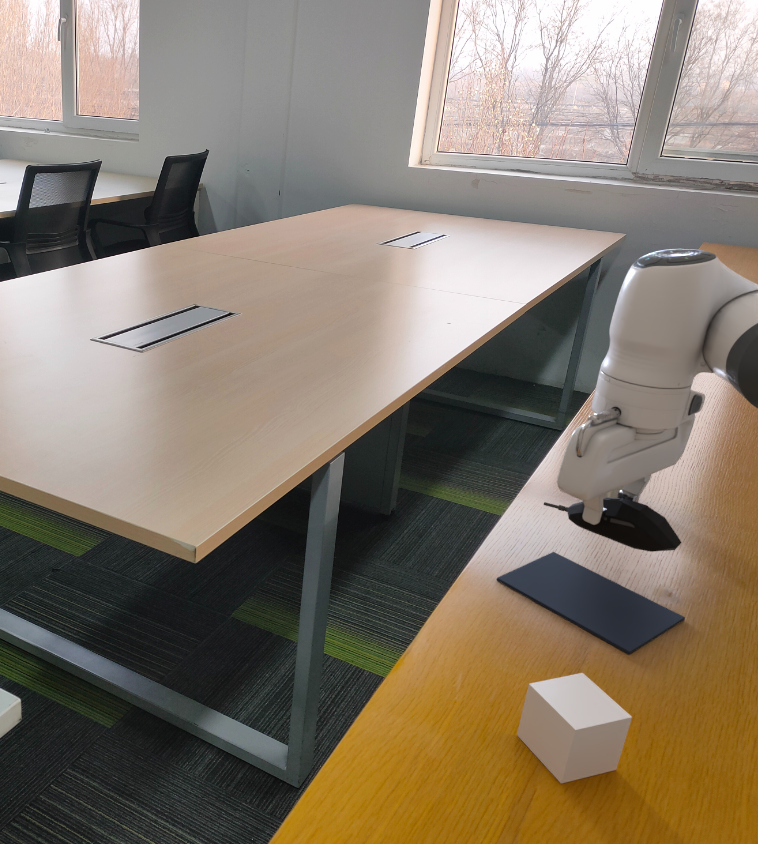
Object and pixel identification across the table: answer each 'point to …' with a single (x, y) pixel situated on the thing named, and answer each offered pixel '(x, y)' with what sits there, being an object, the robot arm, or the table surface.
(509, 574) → the mouse pad
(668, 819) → the table surface
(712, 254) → the robot arm
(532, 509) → the table surface
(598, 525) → the gaming mouse
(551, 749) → the white cube
